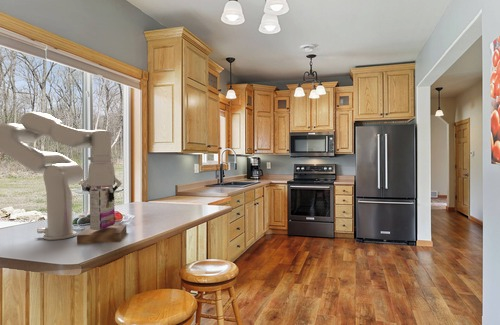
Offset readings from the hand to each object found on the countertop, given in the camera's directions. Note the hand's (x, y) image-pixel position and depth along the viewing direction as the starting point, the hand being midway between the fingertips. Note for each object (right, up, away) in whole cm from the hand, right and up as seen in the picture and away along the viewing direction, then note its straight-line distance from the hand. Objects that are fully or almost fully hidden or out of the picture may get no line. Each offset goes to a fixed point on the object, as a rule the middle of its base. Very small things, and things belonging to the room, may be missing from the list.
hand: (102, 201), depth 141 cm
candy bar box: (0, -11, 0) cm, 11 cm away
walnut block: (0, -16, 0) cm, 16 cm away
